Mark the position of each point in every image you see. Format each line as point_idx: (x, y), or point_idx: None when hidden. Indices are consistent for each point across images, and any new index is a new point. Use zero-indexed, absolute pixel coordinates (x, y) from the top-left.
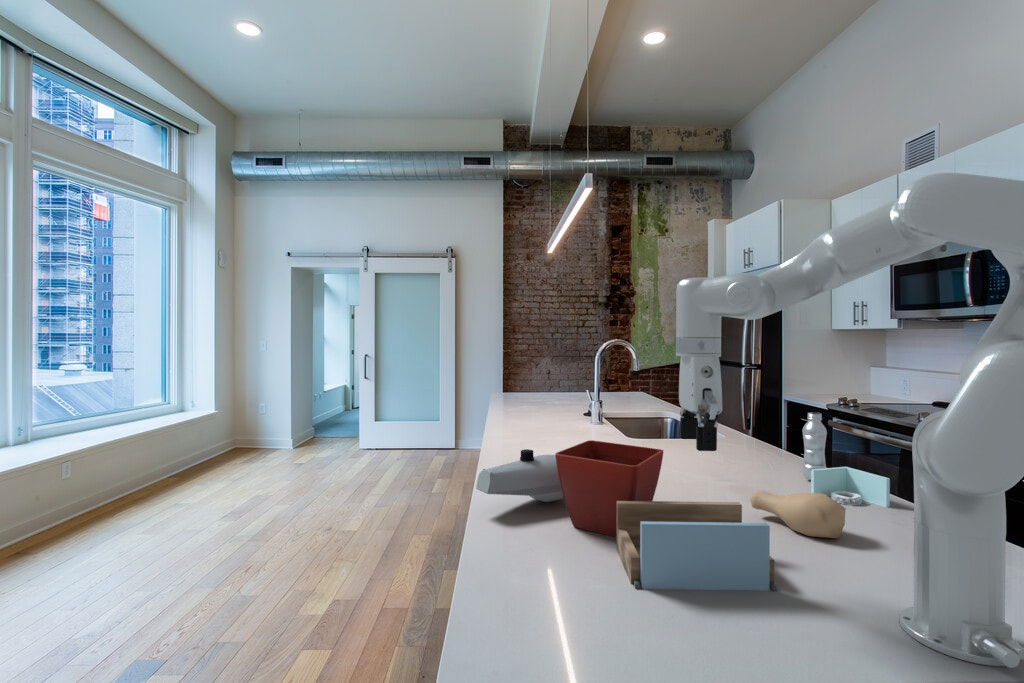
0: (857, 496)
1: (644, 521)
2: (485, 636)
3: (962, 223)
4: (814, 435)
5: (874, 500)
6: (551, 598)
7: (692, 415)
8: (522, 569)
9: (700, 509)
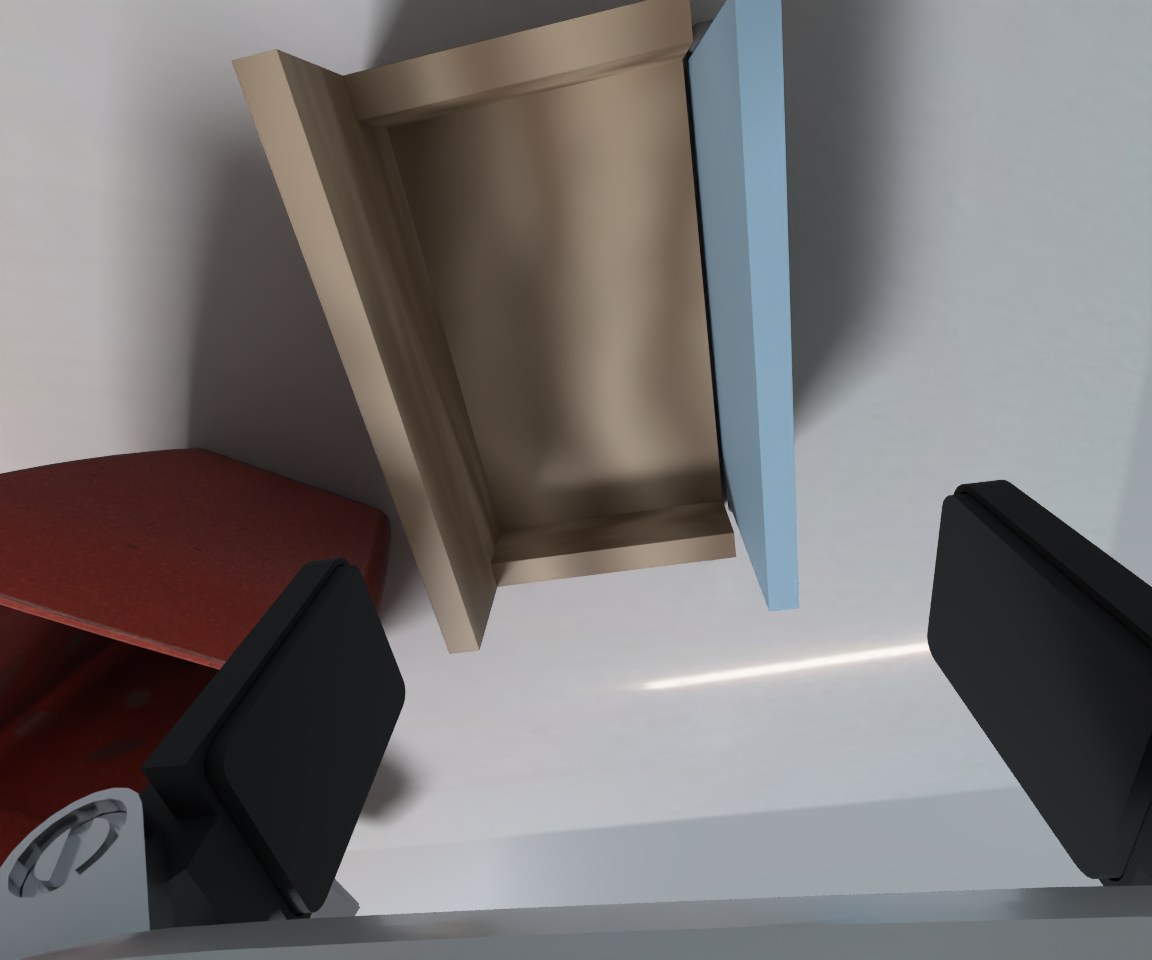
0: None
1: (768, 598)
2: (952, 755)
3: None
4: None
5: None
6: (798, 671)
7: (209, 877)
8: (661, 733)
9: (376, 308)
